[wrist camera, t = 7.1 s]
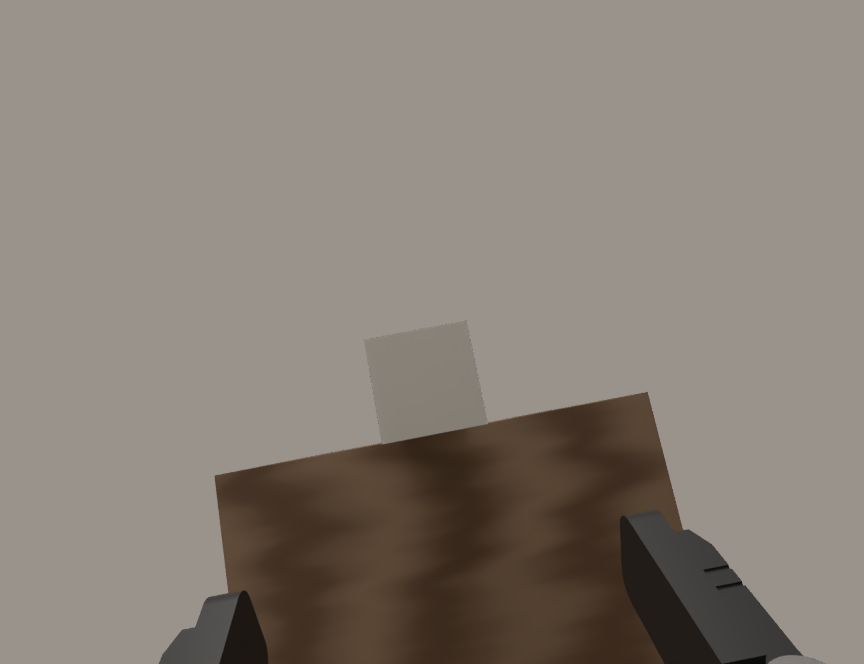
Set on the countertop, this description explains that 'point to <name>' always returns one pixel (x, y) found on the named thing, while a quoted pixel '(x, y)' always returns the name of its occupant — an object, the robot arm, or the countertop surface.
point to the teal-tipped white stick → (425, 382)
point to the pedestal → (453, 543)
